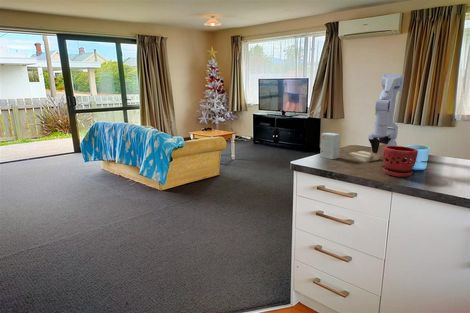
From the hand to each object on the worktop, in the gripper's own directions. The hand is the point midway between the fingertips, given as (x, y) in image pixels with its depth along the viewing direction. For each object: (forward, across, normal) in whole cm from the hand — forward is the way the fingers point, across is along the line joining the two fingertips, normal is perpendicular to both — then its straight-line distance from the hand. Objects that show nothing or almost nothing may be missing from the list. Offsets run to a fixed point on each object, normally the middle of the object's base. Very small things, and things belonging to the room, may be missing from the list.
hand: (378, 152), depth 152 cm
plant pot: (+6, +6, +15) cm, 17 cm away
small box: (+7, +9, -23) cm, 26 cm away
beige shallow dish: (+7, -5, -12) cm, 15 cm away
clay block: (+2, 0, 0) cm, 2 cm away
